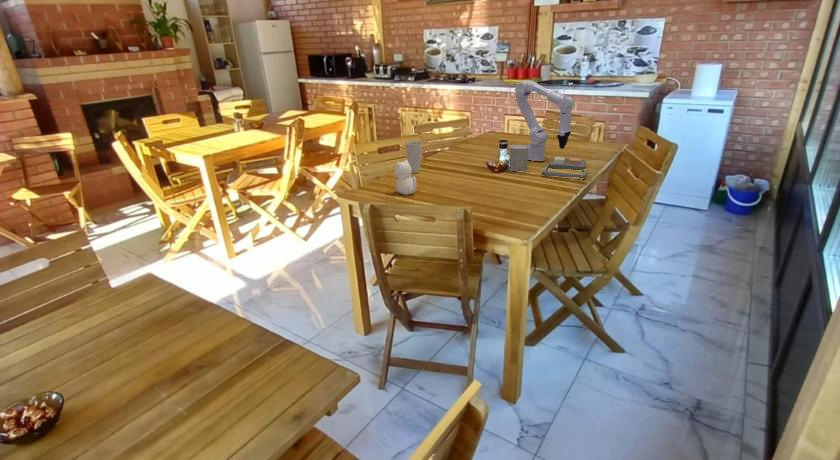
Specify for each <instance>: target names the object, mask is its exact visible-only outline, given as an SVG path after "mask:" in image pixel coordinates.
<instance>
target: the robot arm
mask: <svg viewBox="0 0 840 460" xmlns="http://www.w3.org/2000/svg"><path fill="white" fill-rule="evenodd" d="M515 85H516V86H515V88H514V91H515V102H516V104H517V106H518V108H519V110H520V112H521V114H522V117H523V119H524V121H525V122H526V126H527V127H528V129H529V133H528V135H529V140H530V143H528V144H527V146H528V159H527V160H544V158H545V155H546V154H545V152H546V151H545V150H546V142H547V140H548V139H549V135H548V133H547V132H546V131H545V129H544V128H543V127H542V126H541V125H540V124H539V122H538V120H537V118H536V116H535V113H534V112H533V109H532V107H531V104H530V103H529V101H528V98H529V97H530V95H531V93H532V92H534V93H537V94H538V95H542V96H544V97H545V98H547V101H548V102H550V103H552V104H554V105H557V106H558V108H559V123H558V129H557V130H558V132H559V134H557V135H556V137H557V139H558V145H559V147H558V148H559V149H563V150H564V149H565V147H566V146H567V144H568V141H569V138H570V135H571V133H572V132H573V129H571V123H572V114H573V111H572V109H573V106H574V105H575V100H574V98H573V97H572V96H568V95H567V94H563V93H560V92H559V90H558V89H553V90H550V89H547V88H545V87H544V86H543V85H540V84H539V83H537V82H535V81H532V80H530V79H527V80H525V81H519V82H517V83H516V84H515ZM529 157H530V158H529Z"/></svg>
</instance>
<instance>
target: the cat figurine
mask: <svg viewBox="0 0 840 460" xmlns="http://www.w3.org/2000/svg"><path fill="white" fill-rule="evenodd" d="M412 174H413V173H412V168H411V166H410V164H409V163H408V160H407V159H404V161H398V162H396V165H395V167H394V176H395V177H396V178H397V180H396V183H395V189H396V191H397V192H398V194H401V195H406V196H409V195H412V194H414V193H415V192H416V191H417V187H418V186H417V178H416V177H415V176H414V175H413V176H411V175H412Z"/></svg>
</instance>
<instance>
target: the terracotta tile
mask: <svg viewBox="0 0 840 460" xmlns="http://www.w3.org/2000/svg"><path fill="white" fill-rule="evenodd" d="M569 159H570V160H569V164H576V165H579V164H580V160H581V158H577V157H570V158H569Z"/></svg>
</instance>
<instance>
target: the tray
mask: <svg viewBox="0 0 840 460" xmlns="http://www.w3.org/2000/svg"><path fill="white" fill-rule="evenodd" d="M548 168H549V164H547V165H546V166H544V168H543V170H542V171H541V176H542V175H544V176H559V177H579V178H584V177H585V178H586V176H585V175H587V174H586V172H588V168H587V167H585V168H584V171H583V175H581V174H569V173H558V172H547V170H548Z"/></svg>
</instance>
